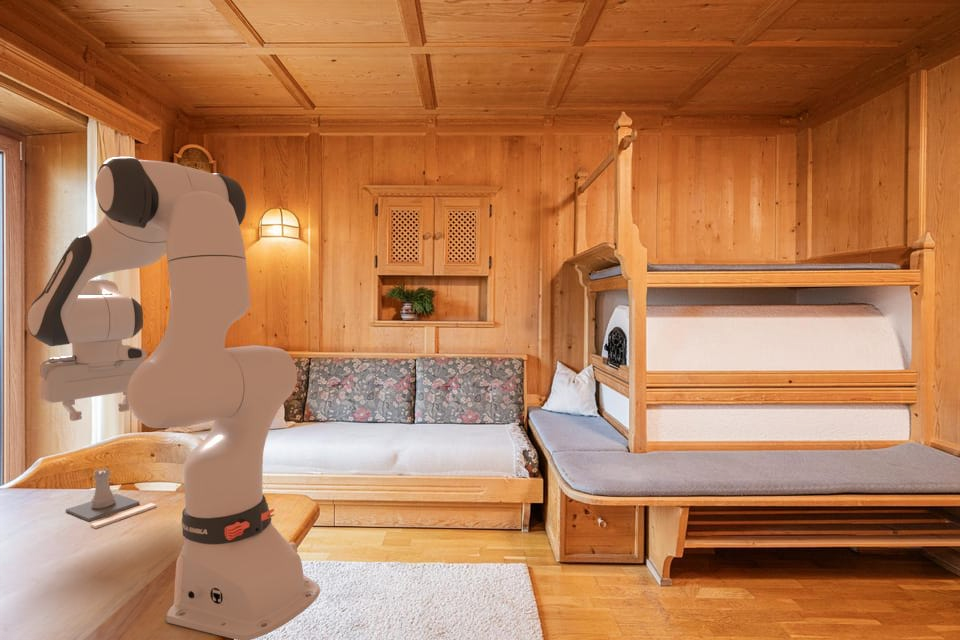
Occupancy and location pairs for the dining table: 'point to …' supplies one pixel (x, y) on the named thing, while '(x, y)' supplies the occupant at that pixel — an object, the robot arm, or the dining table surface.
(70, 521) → the dining table surface
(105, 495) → the rook chess piece
